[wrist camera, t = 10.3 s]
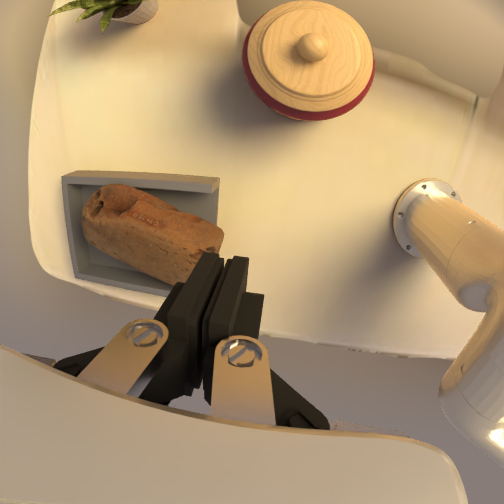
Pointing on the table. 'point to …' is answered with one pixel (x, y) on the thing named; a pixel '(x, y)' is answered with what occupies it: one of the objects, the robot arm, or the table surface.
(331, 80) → the canister
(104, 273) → the tray
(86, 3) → the house plant
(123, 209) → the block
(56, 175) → the table surface
